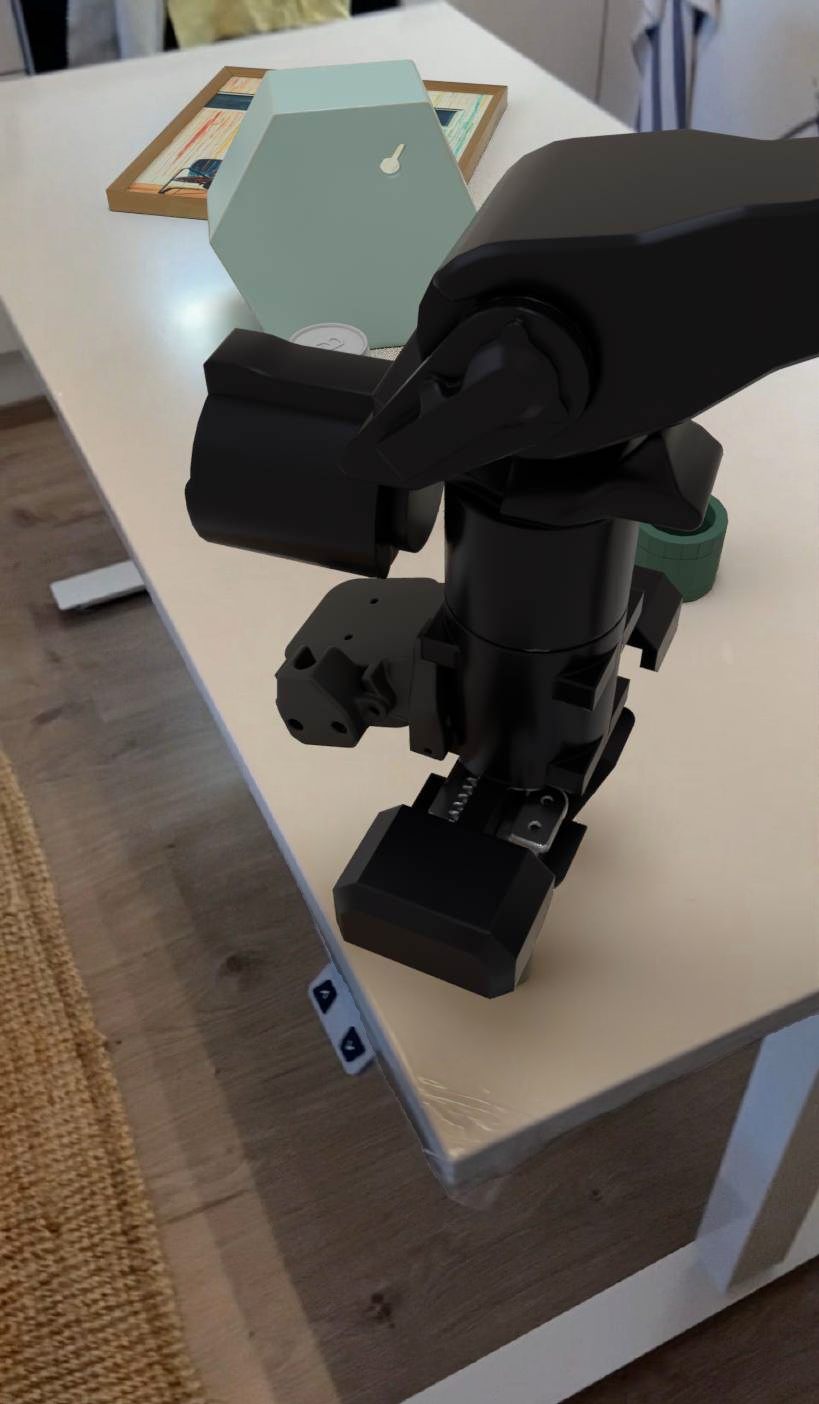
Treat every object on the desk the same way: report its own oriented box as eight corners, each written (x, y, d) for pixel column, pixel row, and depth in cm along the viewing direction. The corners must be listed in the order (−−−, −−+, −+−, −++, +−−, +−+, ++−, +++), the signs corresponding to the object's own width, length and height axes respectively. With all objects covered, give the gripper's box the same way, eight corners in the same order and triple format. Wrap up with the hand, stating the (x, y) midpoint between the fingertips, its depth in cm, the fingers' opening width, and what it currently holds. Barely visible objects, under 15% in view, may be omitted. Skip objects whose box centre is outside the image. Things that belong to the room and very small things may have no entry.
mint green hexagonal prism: (366, 349, 98) (509, 120, 86) (378, 401, 93) (532, 164, 81) (174, 257, 90) (304, -9, 78) (175, 308, 85) (314, 30, 73)
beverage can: (288, 510, 76) (268, 341, 68) (348, 479, 78) (335, 312, 70) (334, 546, 74) (319, 376, 65) (394, 514, 76) (387, 344, 67)
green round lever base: (725, 557, 72) (738, 497, 69) (700, 613, 69) (713, 553, 66) (639, 535, 74) (648, 475, 71) (611, 588, 71) (619, 529, 67)
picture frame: (105, 189, 105) (224, 65, 125) (109, 210, 107) (227, 84, 126) (438, 220, 100) (507, 85, 119) (438, 242, 101) (507, 105, 121)
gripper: (424, 381, 45) (429, 670, 56) (150, 715, 34) (226, 992, 45) (714, 449, 42) (657, 742, 53) (518, 846, 30) (499, 1110, 42)
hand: (515, 877), depth 48 cm, fingers closed
